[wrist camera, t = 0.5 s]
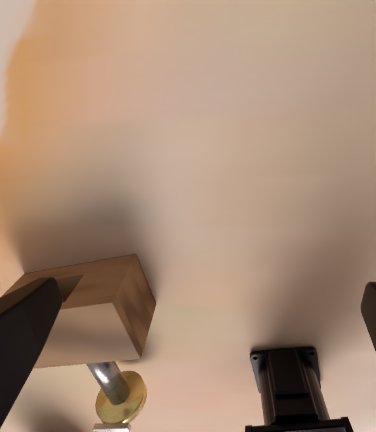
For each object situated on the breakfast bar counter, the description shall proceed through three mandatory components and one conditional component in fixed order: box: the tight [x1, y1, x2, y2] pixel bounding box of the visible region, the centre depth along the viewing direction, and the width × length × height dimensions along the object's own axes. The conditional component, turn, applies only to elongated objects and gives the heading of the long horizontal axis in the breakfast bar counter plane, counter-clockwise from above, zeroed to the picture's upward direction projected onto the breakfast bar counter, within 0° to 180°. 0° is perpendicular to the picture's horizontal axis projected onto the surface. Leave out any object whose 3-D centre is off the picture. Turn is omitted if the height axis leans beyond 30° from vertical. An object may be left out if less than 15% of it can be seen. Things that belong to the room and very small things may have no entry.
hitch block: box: [2, 254, 156, 368], centre depth 25 cm, size 6×12×6 cm, turn 105°
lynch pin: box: [87, 361, 147, 432], centre depth 27 cm, size 10×5×6 cm, turn 15°
